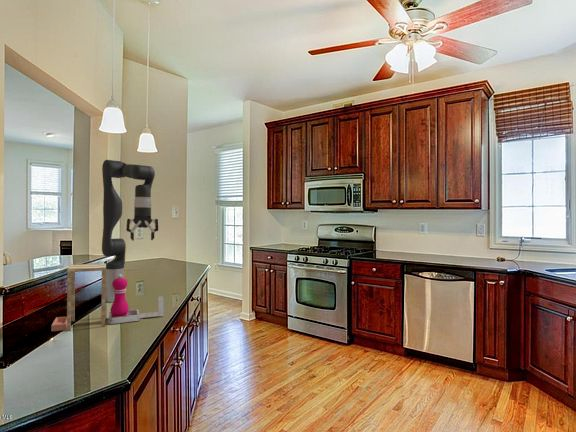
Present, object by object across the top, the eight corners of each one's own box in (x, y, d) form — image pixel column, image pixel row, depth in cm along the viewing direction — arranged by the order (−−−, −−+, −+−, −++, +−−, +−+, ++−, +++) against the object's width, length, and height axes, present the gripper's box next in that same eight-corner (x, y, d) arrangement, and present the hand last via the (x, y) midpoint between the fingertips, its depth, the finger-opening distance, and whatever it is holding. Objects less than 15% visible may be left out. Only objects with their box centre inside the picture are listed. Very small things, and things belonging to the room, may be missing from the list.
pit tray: (56, 323, 151) (56, 317, 151) (69, 321, 153) (69, 316, 153) (51, 331, 140) (51, 325, 140) (66, 329, 142) (66, 323, 142)
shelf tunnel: (71, 320, 154) (71, 264, 155) (105, 317, 160) (106, 263, 160) (67, 330, 141) (67, 269, 141) (104, 326, 146) (105, 267, 147)
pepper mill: (132, 318, 158) (132, 273, 158) (119, 323, 151) (119, 276, 151) (119, 317, 160) (120, 272, 160) (106, 321, 154) (106, 274, 154)
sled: (109, 317, 159) (109, 299, 159) (161, 311, 168) (161, 294, 168) (108, 324, 149) (109, 304, 149) (164, 317, 159) (164, 299, 159)
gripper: (157, 207, 179) (157, 239, 179) (126, 206, 173) (126, 240, 173) (159, 206, 172) (158, 240, 172) (126, 206, 166) (126, 241, 166)
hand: (142, 240), depth 173 cm, fingers open, 8 cm apart
